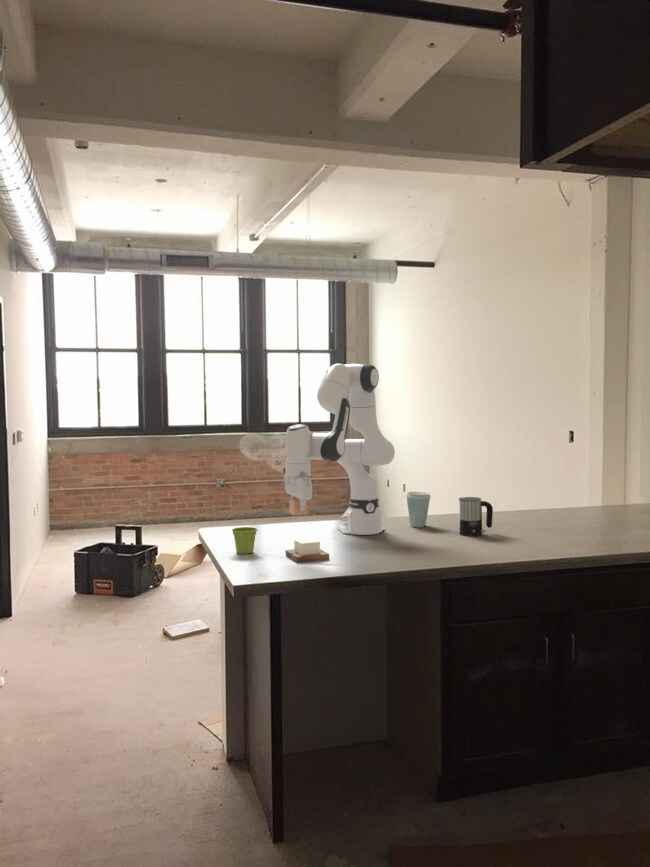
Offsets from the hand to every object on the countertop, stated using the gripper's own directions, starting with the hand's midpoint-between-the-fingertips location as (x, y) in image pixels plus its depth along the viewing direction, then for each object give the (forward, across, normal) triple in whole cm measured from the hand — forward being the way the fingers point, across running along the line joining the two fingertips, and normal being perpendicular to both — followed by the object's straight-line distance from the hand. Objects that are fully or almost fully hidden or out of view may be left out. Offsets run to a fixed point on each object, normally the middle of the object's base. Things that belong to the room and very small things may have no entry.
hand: (298, 509), depth 249 cm
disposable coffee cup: (+18, +34, -66) cm, 76 cm away
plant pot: (+17, +14, +16) cm, 28 cm away
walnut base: (+17, -3, -2) cm, 17 cm away
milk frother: (+18, +13, -80) cm, 83 cm away
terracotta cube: (+2, 0, 0) cm, 2 cm away
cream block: (+15, -3, -2) cm, 15 cm away
